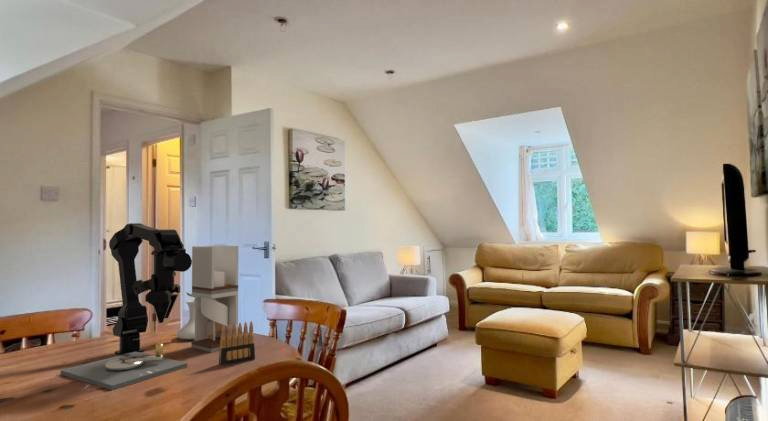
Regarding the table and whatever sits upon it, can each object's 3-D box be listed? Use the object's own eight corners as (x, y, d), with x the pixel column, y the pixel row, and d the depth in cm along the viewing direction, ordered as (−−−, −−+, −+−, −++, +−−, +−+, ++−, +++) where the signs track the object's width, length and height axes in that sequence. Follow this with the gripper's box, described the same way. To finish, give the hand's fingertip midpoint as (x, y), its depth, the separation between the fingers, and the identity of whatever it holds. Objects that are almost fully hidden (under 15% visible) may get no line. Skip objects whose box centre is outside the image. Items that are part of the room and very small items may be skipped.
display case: (191, 347, 158) (192, 246, 159) (218, 340, 167) (218, 245, 168) (211, 352, 151) (211, 247, 153) (237, 345, 160) (238, 245, 161)
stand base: (60, 374, 130) (60, 369, 130) (135, 355, 149) (135, 351, 149) (112, 390, 117) (112, 385, 117) (187, 366, 136) (187, 362, 136)
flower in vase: (176, 343, 164) (177, 273, 165) (175, 336, 174) (175, 270, 175) (215, 338, 170) (215, 271, 171) (211, 332, 180) (211, 269, 181)
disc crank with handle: (100, 372, 126) (100, 352, 127) (111, 362, 136) (111, 343, 136) (159, 367, 130) (159, 348, 131) (166, 357, 140) (166, 339, 140)
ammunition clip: (220, 365, 137) (220, 325, 137) (218, 364, 138) (218, 324, 139) (255, 359, 143) (255, 321, 144) (252, 358, 145) (253, 320, 145)
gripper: (144, 267, 148) (143, 315, 148) (126, 273, 130) (125, 328, 130) (180, 266, 151) (180, 314, 150) (168, 272, 133) (167, 326, 132)
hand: (163, 320), depth 141 cm, fingers open, 7 cm apart
